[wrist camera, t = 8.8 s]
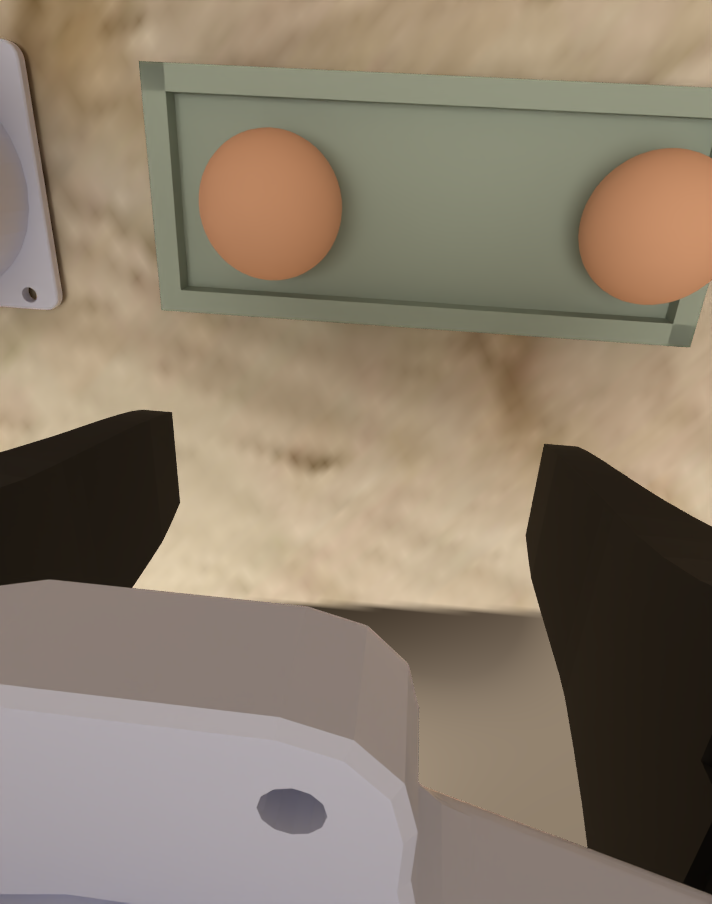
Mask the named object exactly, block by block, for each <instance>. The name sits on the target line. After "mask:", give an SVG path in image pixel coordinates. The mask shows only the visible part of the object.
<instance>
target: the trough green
mask: <svg viewBox="0 0 712 904" xmlns="http://www.w3.org/2000/svg"><path fill="white" fill-rule="evenodd" d="M139 68H140V79H141V90H142V101H143V112H144V123H145V134H146V145H147V156H148V167H149V178H150V188H151V199H152V210H153V221H154V232H155V243H156V254H157V265H158V276H159V287H160V298H161V309H162V310H166V311H180V312H194V313H209V314H223V315H237V316H251V317H265V318H280V319H294V320H308V321H322V322H336V323H350V324H365V325H379V326H393V327H407V328H421V329H436V330H450V331H464V332H478V333H492V334H507V335H521V336H535V337H549V338H563V339H578V340H592V341H606V342H620V343H634V344H649V345H663V346H677V347H690V346H691V342H692V339H693V335H694V332H695V329H696V325H697V322H698V318H699V315H700V312H701V308H702V305H703V302H704V298H705V295H706V291H707V288H708V285H709V283H708V284H706V285H705V286H703V287H702V288H701V289H699V290H698V291H696V292H694V293H692V294H690V295H689V296H686V297H684V298H681V299H679V300H676V301H673V302H669V303H664V304H656V305H640V304H633V303H629V302H625V301H622V300H619V299H617V298H615V297H613V296H611V295H609V294H608V293H606V292H605V291H603V290H602V289H601V288H600V287H599V286H598V285H597V284H596V283H595V282H594V281H593V280H592V278H591V277H590V276H589V274H588V272H587V271H586V269H585V267H584V265H583V262H582V259H581V255H580V251H579V242H578V233H579V225H580V220H581V216H582V213H583V210H584V208H585V205H586V203H587V201H588V200H589V198H590V196H591V194H592V193H593V191H594V190H595V188H596V187H597V186H598V185H599V183H600V182H601V181H602V180H603V179H604V178H605V177H606V176H607V175H608V174H609V173H610V172H611V171H613V170H614V169H615V168H616V167H618V166H619V165H621V164H622V163H624V162H625V161H627V160H629V159H631V158H633V157H635V156H637V155H639V154H642V153H645V152H648V151H652V150H657V149H664V148H682V149H688V150H692V151H696V152H699V153H702V154H704V155H706V156H709V157H710V158H712V88H708V87H686V86H665V85H643V84H621V83H600V82H578V81H556V80H535V79H513V78H492V77H470V76H448V75H427V74H405V73H383V72H362V71H340V70H318V69H297V68H275V67H253V66H232V65H210V64H188V63H167V62H145V61H139ZM265 127H271V128H279V129H283V130H287V131H290V132H292V133H295V134H297V135H299V136H301V137H302V138H304V139H306V140H307V141H309V142H310V143H311V144H312V145H314V146H315V147H316V148H317V149H318V150H319V151H320V152H321V153H322V154H323V155H324V157H325V158H326V159H327V161H328V162H329V164H330V166H331V167H332V169H333V171H334V173H335V176H336V178H337V180H338V184H339V187H340V191H341V198H342V217H341V223H340V228H339V231H338V234H337V237H336V239H335V241H334V243H333V245H332V247H331V249H330V250H329V252H328V253H327V255H326V256H325V257H324V258H323V259H322V260H321V261H320V262H319V263H318V264H317V265H316V266H314V267H313V268H312V269H310V270H308V271H307V272H305V273H303V274H301V275H299V276H297V277H293V278H290V279H285V280H263V279H258V278H254V277H251V276H248V275H246V274H244V273H242V272H240V271H238V270H236V269H235V268H233V267H232V266H231V265H229V264H228V263H227V262H226V261H225V260H224V259H223V258H222V257H221V256H220V255H219V254H218V253H217V251H216V250H215V249H214V247H213V246H212V244H211V243H210V241H209V239H208V237H207V235H206V233H205V231H204V228H203V225H202V221H201V217H200V212H199V188H200V183H201V179H202V175H203V172H204V170H205V167H206V165H207V164H208V162H209V160H210V158H211V157H212V156H213V154H214V153H215V152H216V151H217V149H218V148H219V147H220V146H221V145H222V144H223V143H225V142H226V141H227V140H229V139H230V138H231V137H233V136H235V135H237V134H239V133H241V132H244V131H247V130H250V129H256V128H265Z"/></svg>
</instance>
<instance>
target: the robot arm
mask: <svg viewBox="0 0 712 904" xmlns="http://www.w3.org/2000/svg"><path fill="white" fill-rule="evenodd" d="M29 288H32V289H33V290H34V291H35V292H36V294H37V299H36V300H35V299H33V298H32V297H31V296H30V295H29V292H28V291H29ZM61 302H62V289H61V282H60V276H59V270H58V264H57V257H56V251H55V245H54V239H53V233H52V226H51V220H50V214H49V208H48V202H47V195H46V189H45V183H44V177H43V170H42V164H41V158H40V152H39V146H38V139H37V133H36V127H35V121H34V115H33V108H32V102H31V96H30V90H29V83H28V77H27V71H26V65H25V59H24V56H23V53H22V51H21V50H20V48H19V47H18V46H17V45H16V44H15V43H13V42H12V41H8V40H5V39H1V38H0V307H12V308H26V309H40V310H50V309H53V308H56V307H57V306H59V305H60V304H61ZM179 504H180V497H179V486H178V475H177V464H176V452H175V441H174V430H173V419H172V412H162V411H150V410H137V411H131V412H127V413H123V414H119V415H116V416H113V417H110V418H106V419H103V420H100V421H97V422H94V423H91V424H88V425H85V426H82V427H79V428H76V429H73V430H71V431H68V432H65V433H62V434H59V435H56V436H53V437H49V438H46V439H43V440H40V441H36V442H33V443H30V444H27V445H23V446H20V447H17V448H13V449H10V450H7V451H4V452H0V904H712V526H710V525H708V524H706V523H704V522H702V521H700V520H698V519H696V518H694V517H692V516H691V515H689V514H687V513H685V512H684V511H682V510H680V509H678V508H677V507H675V506H673V505H671V504H670V503H668V502H666V501H665V500H663V499H661V498H660V497H658V496H656V495H655V494H653V493H652V492H650V491H648V490H647V489H645V488H644V487H642V486H640V485H639V484H637V483H636V482H634V481H633V480H631V479H630V478H628V477H627V476H625V475H624V474H622V473H621V472H619V471H618V470H616V469H615V468H613V467H612V466H610V465H609V464H607V463H605V462H604V461H602V460H601V459H599V458H598V457H596V456H594V455H593V454H591V453H589V452H588V451H586V450H584V449H582V448H579V447H575V446H563V445H552V444H544V447H543V452H542V457H541V462H540V467H539V472H538V477H537V482H536V487H535V492H534V497H533V502H532V507H531V512H530V517H529V522H528V527H527V532H526V542H527V550H528V559H529V566H530V573H531V579H532V582H533V586H534V590H535V593H536V597H537V600H538V604H539V607H540V611H541V614H542V617H543V621H544V624H545V628H546V631H547V634H548V637H549V641H550V644H551V648H552V651H553V655H554V658H555V661H556V665H557V668H558V671H559V675H560V679H561V683H562V687H563V691H564V696H565V700H566V706H567V712H568V717H569V724H570V730H571V735H572V740H573V747H574V754H575V760H576V767H577V773H578V780H579V787H580V794H581V800H582V807H583V815H584V822H585V831H586V838H587V846H588V848H586V847H584V846H581V845H578V844H576V843H573V842H570V841H568V840H565V839H563V838H560V837H557V836H555V835H552V834H549V833H547V832H544V831H541V830H539V829H536V828H533V827H530V826H528V825H525V824H523V823H520V822H517V821H515V820H512V819H509V818H507V817H504V816H501V815H499V814H496V813H494V812H491V811H488V810H486V809H483V808H480V807H478V806H475V805H472V804H470V803H467V802H464V801H462V800H459V799H456V798H454V797H451V796H448V795H446V794H443V793H440V792H438V791H435V790H433V789H429V788H427V787H425V786H422V785H421V784H420V783H419V782H418V761H419V760H418V759H419V754H418V753H419V706H418V702H417V698H416V693H415V689H414V685H413V681H412V676H411V673H410V668H409V664H408V663H407V662H406V661H405V660H404V659H402V657H400V656H399V655H398V654H397V653H396V652H395V651H394V650H393V649H392V648H391V647H390V646H389V645H388V644H387V643H386V642H384V641H383V640H382V639H381V638H380V637H379V636H378V635H377V634H376V633H375V632H374V631H373V630H372V629H370V628H369V627H368V626H367V625H364V624H361V623H358V622H354V621H351V620H348V619H345V618H342V617H339V616H336V615H332V614H329V613H326V612H323V611H320V610H316V609H313V608H311V607H307V606H298V605H288V604H279V603H269V602H260V601H250V600H241V599H231V598H222V597H212V596H203V595H193V594H184V593H174V592H165V591H155V590H145V589H136V588H132V587H133V586H134V584H135V583H136V581H137V580H138V578H139V577H140V575H141V574H142V572H143V571H144V569H145V568H146V566H147V565H148V563H149V562H150V560H151V559H152V557H153V555H154V554H155V552H156V551H157V549H158V548H159V546H160V545H161V543H162V541H163V539H164V537H165V535H166V533H167V531H168V529H169V527H170V525H171V522H172V520H173V518H174V515H175V513H176V511H177V508H178V506H179Z"/></svg>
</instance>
